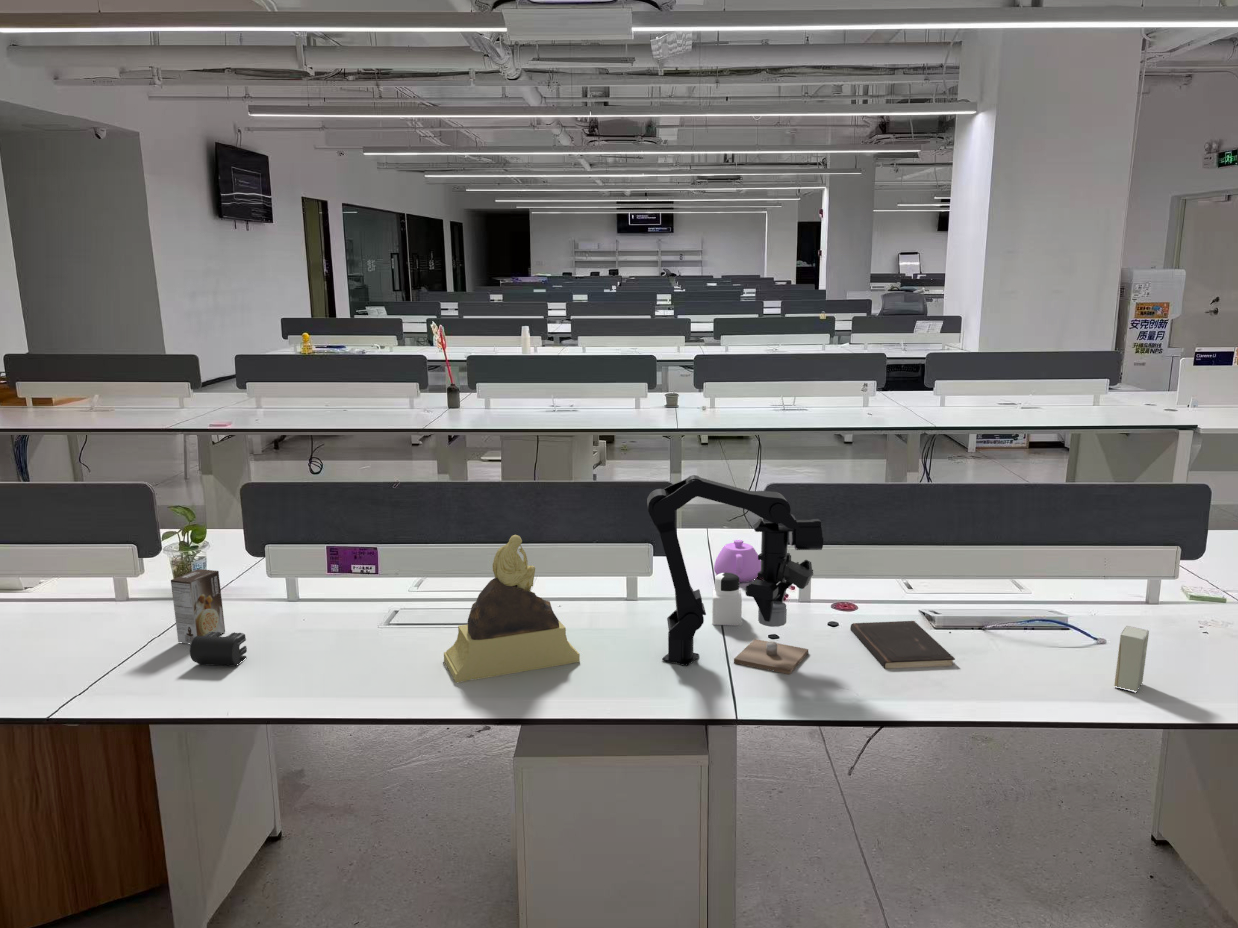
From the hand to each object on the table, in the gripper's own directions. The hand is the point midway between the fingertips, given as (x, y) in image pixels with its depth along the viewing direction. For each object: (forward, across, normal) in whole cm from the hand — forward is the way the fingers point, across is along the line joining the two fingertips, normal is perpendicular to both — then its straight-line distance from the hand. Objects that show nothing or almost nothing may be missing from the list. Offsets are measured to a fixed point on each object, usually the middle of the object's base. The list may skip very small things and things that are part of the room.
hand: (772, 616), depth 208 cm
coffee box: (+11, -53, +126) cm, 137 cm away
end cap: (+11, -61, +109) cm, 125 cm away
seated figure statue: (+11, -29, +51) cm, 60 cm away
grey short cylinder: (+1, 0, 0) cm, 1 cm away
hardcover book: (+11, +20, -24) cm, 33 cm away
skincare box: (+10, +21, -71) cm, 75 cm away
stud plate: (+10, 0, 0) cm, 10 cm away
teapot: (+10, +52, +29) cm, 60 cm away
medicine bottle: (+10, +17, +18) cm, 27 cm away
